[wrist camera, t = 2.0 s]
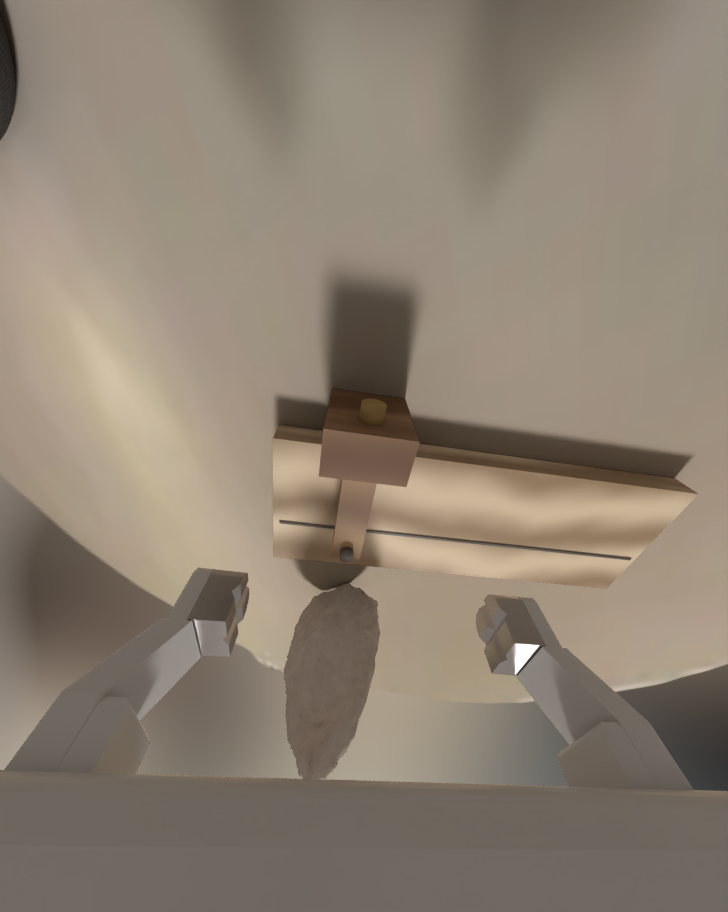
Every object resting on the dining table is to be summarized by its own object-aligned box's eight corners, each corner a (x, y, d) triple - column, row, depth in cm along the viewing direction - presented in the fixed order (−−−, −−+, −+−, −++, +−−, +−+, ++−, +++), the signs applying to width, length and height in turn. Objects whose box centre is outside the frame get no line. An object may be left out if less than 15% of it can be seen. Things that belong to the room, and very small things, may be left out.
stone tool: (311, 605, 33) (280, 810, 21) (292, 590, 32) (247, 802, 19) (380, 576, 31) (395, 792, 18) (364, 559, 29) (366, 780, 17)
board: (279, 424, 21) (272, 438, 20) (675, 478, 24) (699, 494, 22) (278, 539, 28) (273, 557, 26) (592, 570, 31) (606, 589, 29)
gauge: (334, 373, 19) (325, 410, 14) (408, 385, 20) (425, 424, 15) (319, 515, 26) (309, 574, 21) (375, 521, 27) (378, 580, 21)
